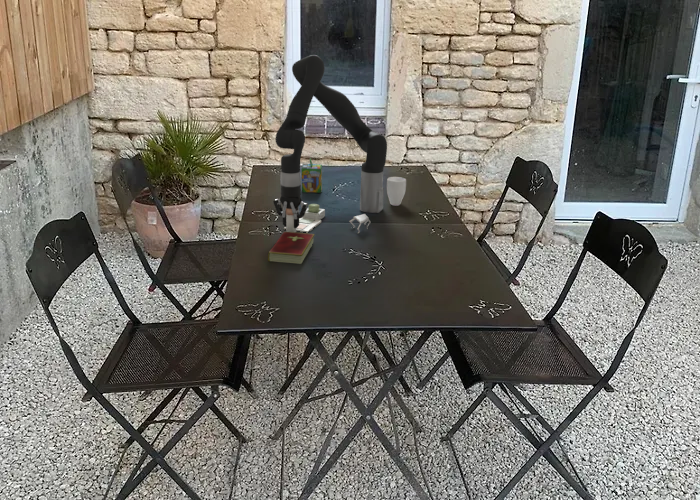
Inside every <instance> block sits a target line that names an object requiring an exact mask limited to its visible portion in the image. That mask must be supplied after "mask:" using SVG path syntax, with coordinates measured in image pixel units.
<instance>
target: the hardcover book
mask: <svg viewBox="0 0 700 500" xmlns="http://www.w3.org/2000/svg"><path fill="white" fill-rule="evenodd" d="M315 235H316V234H315V233H303V232H296V233H295V232H286V231H283V232H282V234H281V235H280V236H279V238H278V239H277V241H276V242H275V243H274V245H273V247H272V248H271V249H270V250H269V251H268V253H267V261H268V262H277V263H286V264H287V263H288V264H295V265H296V264H297V265H302V263H304V262H303V261H304V260H305V258H306V256H307V255H308V253H309V251H310V249H311V248H312V246H313V245H314V238H315ZM312 244H313V245H312Z"/></svg>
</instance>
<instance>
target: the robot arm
mask: <svg viewBox="0 0 700 500" xmlns="http://www.w3.org/2000/svg"><path fill="white" fill-rule="evenodd" d="M291 71H292V74H293V77H294V79H296V81H297V82H298V83H299V84H300V87H299V89H298V91H297V92H296V93H295V94H294V97H293V98H292V100H291V102H290V104H289V107H288V110H287V113H286V118H285V119H284V120H283V122H282V124H281V126H280V127H279V129H278V130H277V132H276V135H275V144H276V145H277V147H278V148H280V149H286V150H293V152H292V153H289V154H284V155H282V156H281V158H280V180H279V182H280V197H279V198H276V199H274V200H273V206H274V208H275V210H276V213H277V215H278V216H281V217H282V225H283V227H286V209H292V212H293V214H294V218H295V219H294V228H297V227H298V226H299V218H303V216H304V215H305V212H306V210H307V208H309V203H308V202H304V201H303V200H302V196H301V195H302V173H301V160H302V159H301V157H302V152H303V150H304V146H305V142H306V136H305V135H306V134H305V133H304V132H303V130H300V129H302V128H303V127H305V123H306V120H307V117H308V112H309V110H310V106H311V103H312V101H313V98H315V99H316V100H317V101H318V102H319V103H320V104H321V105H322V106H323V108H325V109H326V111H328V113H329V114H330V115H331V116H332V117H333V118H334V120H336V122H337V123H338V124H339V125H340V126H342V128H344V130H346V131H347V133H349V134H350V136H351V137H352V138H353V140H354V141H355V143H356V144H357V145H358V146H359V148H360V149H361V150H362V151H363V152H365V153H366V157H365V162H363V163H362V164H361V169H360V170H361V171H360V173H361V174H360V191H359V193H360V194H359V195H360V196H359V198H360V199H359V210H360V211H361V212H364V213H373V214H376V213H377V214H379V213H380V212H381V211H382V210H384V209H383V208H384V189H385V188H384V187H383V185H384V184H383V183H384V182H383V180H384V167H385V165H386V163H387V153H388V142H387V139H386V137H385V136H384V135H382V134H381V133H378V132H376V131H374V130H373V129H371V128H370V127H369V126H368V125H367V124H366V123H365V122H364V121H363V120H362V118H361V116H360V114H359V111H358V109H357V107H356V106H355V105H354V104H353V102H352V101H351V100H350V99H349V97H347V96H346V95H345V94H344V93H342V92H341V91H339V90H336V89H334V88H332V87H330V86H328V85H326V84H324V83H323V82H322V78H323V77H324V73H325V63H324V61H323V59H322V58H321V57H320V56H318V55H316V54H311V55H308V56H306V57H303V58H301V59H300V60H297V61H295V62H294V63H293V64H292V68H291ZM282 206H283V207H282ZM299 207H300V208H301V210H300V208H299Z"/></svg>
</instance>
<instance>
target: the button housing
mask: <svg viewBox="0 0 700 500" xmlns="http://www.w3.org/2000/svg"><path fill="white" fill-rule="evenodd" d="M308 211H309V207H307V210H306V212H305V215H304V216H303V217H302V218H309V219H316V220H321V221H322V220H323V218H326V217H325V216H326V209H324V208H319V212H318V213H312V212H308Z"/></svg>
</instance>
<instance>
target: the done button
mask: <svg viewBox="0 0 700 500" xmlns="http://www.w3.org/2000/svg"><path fill="white" fill-rule="evenodd" d="M308 208H309V211H308V212H312V213H318V212H319V209H320V204H317V203H310V204H308Z"/></svg>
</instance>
